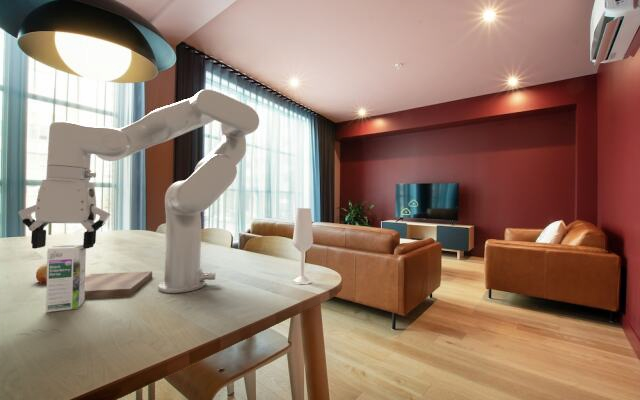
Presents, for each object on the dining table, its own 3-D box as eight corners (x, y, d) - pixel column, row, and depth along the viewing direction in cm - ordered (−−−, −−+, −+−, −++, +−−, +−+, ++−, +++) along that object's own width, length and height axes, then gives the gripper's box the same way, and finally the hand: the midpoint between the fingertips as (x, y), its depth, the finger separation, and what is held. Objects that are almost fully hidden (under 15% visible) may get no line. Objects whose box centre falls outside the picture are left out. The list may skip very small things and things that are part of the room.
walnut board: (152, 277, 90) (152, 271, 90) (130, 296, 73) (130, 288, 73) (90, 280, 86) (91, 273, 86) (51, 300, 68) (52, 292, 68)
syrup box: (44, 313, 61) (46, 248, 61) (55, 304, 66) (56, 244, 66) (77, 309, 64) (79, 246, 64) (85, 300, 69) (86, 243, 69)
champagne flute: (287, 282, 88) (289, 208, 88) (299, 277, 94) (301, 208, 94) (304, 286, 85) (306, 208, 85) (316, 281, 90) (317, 208, 91)
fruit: (66, 272, 93) (73, 250, 92) (88, 284, 90) (94, 261, 90) (23, 280, 82) (30, 255, 82) (46, 294, 79) (53, 268, 79)
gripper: (118, 179, 71) (114, 245, 70) (35, 174, 66) (30, 245, 66) (103, 176, 64) (99, 250, 63) (9, 170, 59) (4, 250, 59)
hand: (64, 247), depth 65 cm, fingers open, 9 cm apart
